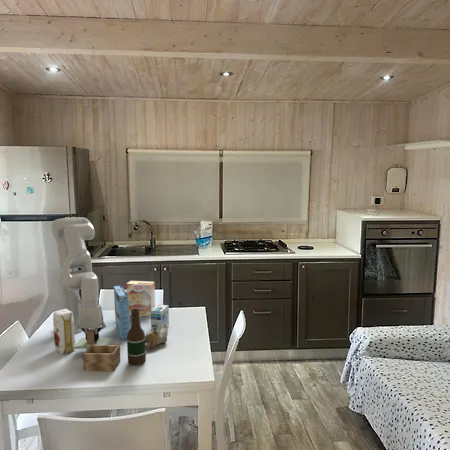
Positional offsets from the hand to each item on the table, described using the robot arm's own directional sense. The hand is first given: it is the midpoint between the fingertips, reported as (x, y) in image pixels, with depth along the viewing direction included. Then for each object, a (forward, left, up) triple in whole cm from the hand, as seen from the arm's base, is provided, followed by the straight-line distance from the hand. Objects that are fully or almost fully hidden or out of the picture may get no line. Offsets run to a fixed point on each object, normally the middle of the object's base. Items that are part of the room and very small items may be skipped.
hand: (92, 340), depth 188 cm
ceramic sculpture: (+27, +10, -6) cm, 29 cm away
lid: (0, 0, -3) cm, 3 cm away
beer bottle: (+23, -9, -6) cm, 25 cm away
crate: (+9, -13, -6) cm, 17 cm away
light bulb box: (+25, +33, -6) cm, 42 cm away
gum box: (+7, +24, -6) cm, 26 cm away
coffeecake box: (+10, +52, -6) cm, 53 cm away
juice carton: (-14, +2, -6) cm, 15 cm away
